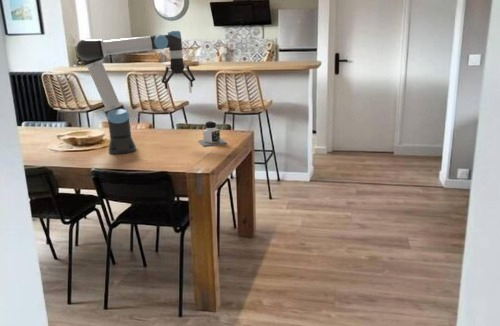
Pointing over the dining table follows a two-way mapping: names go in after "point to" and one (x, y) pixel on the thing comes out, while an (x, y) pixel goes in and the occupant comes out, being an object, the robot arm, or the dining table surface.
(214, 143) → the slate coaster
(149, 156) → the dining table surface
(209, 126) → the medicine bottle
